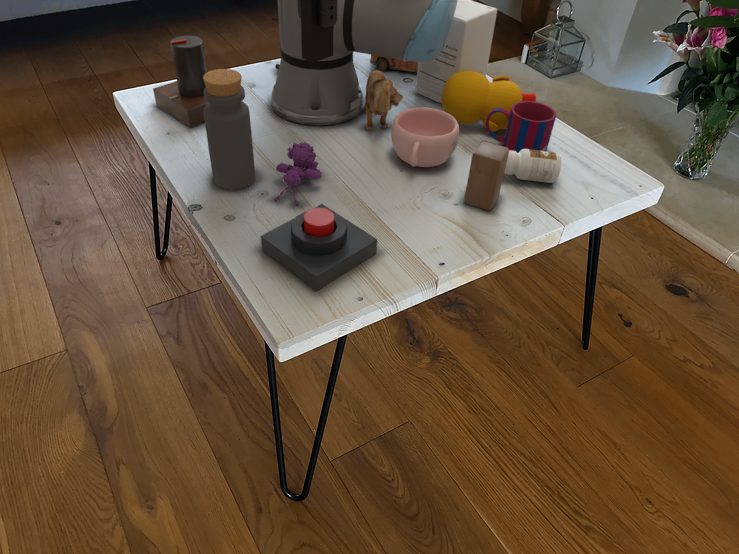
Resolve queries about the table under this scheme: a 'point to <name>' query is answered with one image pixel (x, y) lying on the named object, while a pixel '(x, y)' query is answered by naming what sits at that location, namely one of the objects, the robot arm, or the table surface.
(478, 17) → the white product box
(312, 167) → the purple lumpy piece
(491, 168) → the wooden block
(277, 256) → the switch base
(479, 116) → the toy
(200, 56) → the dial
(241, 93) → the bottle
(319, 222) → the switch
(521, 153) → the pill bottle
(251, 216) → the table surface
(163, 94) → the dial panel
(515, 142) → the cup
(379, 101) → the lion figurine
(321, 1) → the robot arm
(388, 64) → the toy car
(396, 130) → the mug
